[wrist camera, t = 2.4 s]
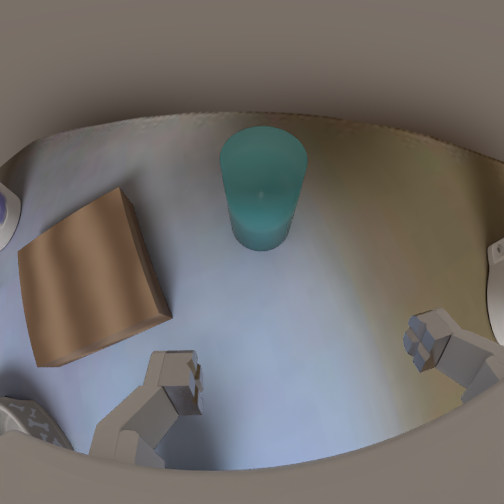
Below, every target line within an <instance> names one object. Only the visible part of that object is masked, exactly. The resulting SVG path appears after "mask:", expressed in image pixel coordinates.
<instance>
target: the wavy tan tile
mask: <svg viewBox="0 0 504 504" xmlns="http://www.w3.org/2000/svg"><path fill="white" fill-rule="evenodd" d="M18 265H19V276H20V285H21V293H22V300H23V307H24V313H25V318H26V323H27V328H28V333H29V337H30V341H31V346H32V350H33V353H34V357H35V361H36V364H37V367H61V366H63V365H65V364H68V363H70V362H73V361H75V360H78V359H80V358H82V357H85V356H87V355H90V354H92V353H94V352H97V351H99V350H101V349H104V348H106V347H108V346H111V345H113V344H115V343H118V342H120V341H122V340H125V339H127V338H129V337H132V336H134V335H136V334H138V333H141V332H143V331H145V330H147V329H150V328H152V327H154V326H156V325H159V324H161V323H163V322H165V321H167V320H170V319H172V315H171V313H170V310H169V308H168V305H167V303H166V300H165V298H164V295H163V293H162V290H161V288H160V285H159V282H158V280H157V277H156V274H155V272H154V269H153V266H152V263H151V260H150V257H149V255H148V252H147V249H146V246H145V243H144V240H143V237H142V234H141V230H140V227H139V224H138V221H137V217H136V214H135V211H134V207H133V204H132V203H131V202H130V201H129V199H128V198H127V197H126V195H125V194H124V193H123V192H122V190H121V189H120V188H119V187H118V188H116V189H114V190H112V191H111V192H109V193H107V194H105V195H103V196H102V197H100V198H98V199H96V200H95V201H93V202H91V203H89V204H88V205H86V206H84V207H83V208H81V209H79V210H78V211H76V212H75V213H73V214H71V215H70V216H68V217H67V218H65V219H64V220H62V221H60V222H59V223H57V224H56V225H54V226H53V227H51V228H50V229H48V230H47V231H46V232H44V233H43V234H41V235H40V236H38V237H37V238H36V239H34V240H33V241H31V242H30V243H29V244H27V245H26V246H25V247H23V248H22V249H21V250H19V251H18Z"/></svg>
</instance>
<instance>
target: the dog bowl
mask: <svg viewBox="0 0 504 504" xmlns="http://www.w3.org/2000/svg"><path fill="white" fill-rule="evenodd" d="M6 396H7V395H6ZM6 396H2V397H0V414H1V416H0V436H1V435H2V434H4V433H5V432H7V431H9V430H12V429H15V430H19V431H21V432H24V433H26V434H28V435H30V436H33V437H35V438H38V439H40V440H43V441H45V442H48V443H51V444H54V445H57V446H60V447H63V448H66V449H69V450H72V451H74V449H73V447H72V446H71V444H70V442H69V441H68V439H67V437H66V436H65V435H64V433H63V432H62V430H61V429H60V428H59V426H58V425H57V424H56V422H55V421H54V420H53V419H52V418H51V416H50V415H49V414H48V413H47V412H46V411H45V410H44V409H43V408H42V407H41V406H40V405H39V404H37V403H36V402H35V401H34V400H17V399H13V398H8V397H6Z"/></svg>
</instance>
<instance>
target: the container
mask: <svg viewBox="0 0 504 504" xmlns="http://www.w3.org/2000/svg"><path fill="white" fill-rule="evenodd" d="M20 211H21V203H20V199H19V198H18V197H17V196H16V195H15V194H14V193H12V192H11V191H10V190H9V189H8V188H7V187H5V186H4V185H3V184H2V183H1V182H0V250H1V249H3V248H4V247H5V246H6V244H7V243H8V242H9V240H10V239H11V237H12V235H13V233H14V231H15V229H16V227H17V224H18V221H19V217H20Z"/></svg>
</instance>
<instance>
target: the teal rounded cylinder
mask: <svg viewBox="0 0 504 504" xmlns="http://www.w3.org/2000/svg"><path fill="white" fill-rule="evenodd" d="M307 162H308V159H307V154H306V150H305V148H304V147H303V145H302V144H301V142H300V141H299V140H298V139H297V138H296V137H294V136H293V135H292V134H290V133H288V132H286V131H284V130H282V129H279V128H275V127H269V126H256V127H250V128H246V129H244V130H241V131H239V132H237V133H235V134H234V135H232V136H231V137H230V138H229V139H228V140H227V141H226V142H225V144H224V145H223V147H222V150H221V153H220V165H221V171H222V177H223V182H224V188H225V193H226V198H227V204H228V209H229V215H230V220H231V225H232V230H233V233H234V236H235V237H236V239H237V240H238V241H239V242H240V243H241V244H242V245H243V246H245V247H246V248H248V249H251V250H255V251H268V250H271V249H274V248H276V247H278V246H279V245H280V244H281V243H282V242H283V241H284V240H285V239H286V237H287V235H288V233H289V230H290V226H291V223H292V219H293V216H294V212H295V208H296V205H297V201H298V198H299V194H300V190H301V187H302V183H303V179H304V176H305V172H306V168H307Z"/></svg>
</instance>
